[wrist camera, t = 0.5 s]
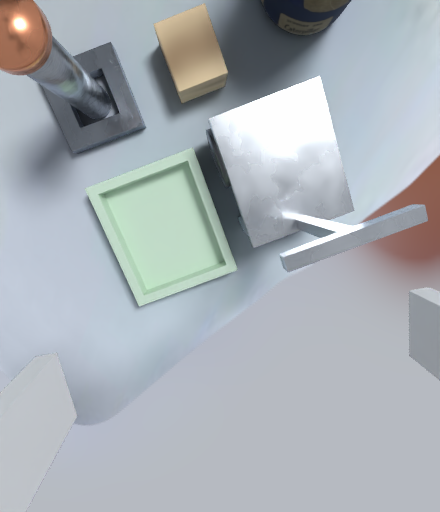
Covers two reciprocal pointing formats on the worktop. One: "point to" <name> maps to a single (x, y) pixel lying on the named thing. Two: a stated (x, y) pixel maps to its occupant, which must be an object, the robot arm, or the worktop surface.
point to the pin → (46, 58)
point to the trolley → (293, 175)
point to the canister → (304, 14)
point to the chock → (192, 53)
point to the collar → (129, 117)
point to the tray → (163, 227)
